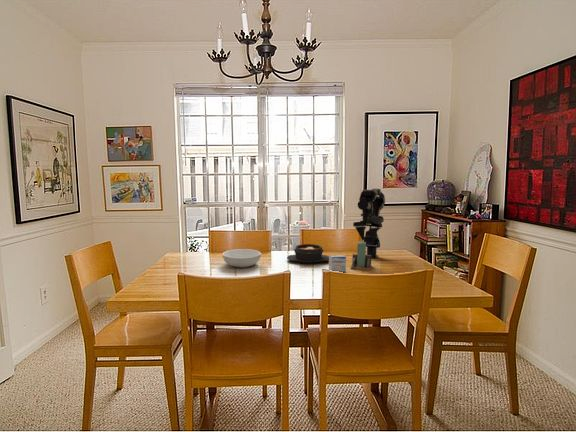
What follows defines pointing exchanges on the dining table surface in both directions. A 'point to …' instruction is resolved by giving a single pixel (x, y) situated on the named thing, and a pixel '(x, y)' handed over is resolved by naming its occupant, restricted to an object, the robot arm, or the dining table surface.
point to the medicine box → (337, 263)
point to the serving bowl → (241, 257)
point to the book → (361, 254)
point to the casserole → (308, 254)
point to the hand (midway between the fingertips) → (368, 240)
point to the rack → (367, 263)
